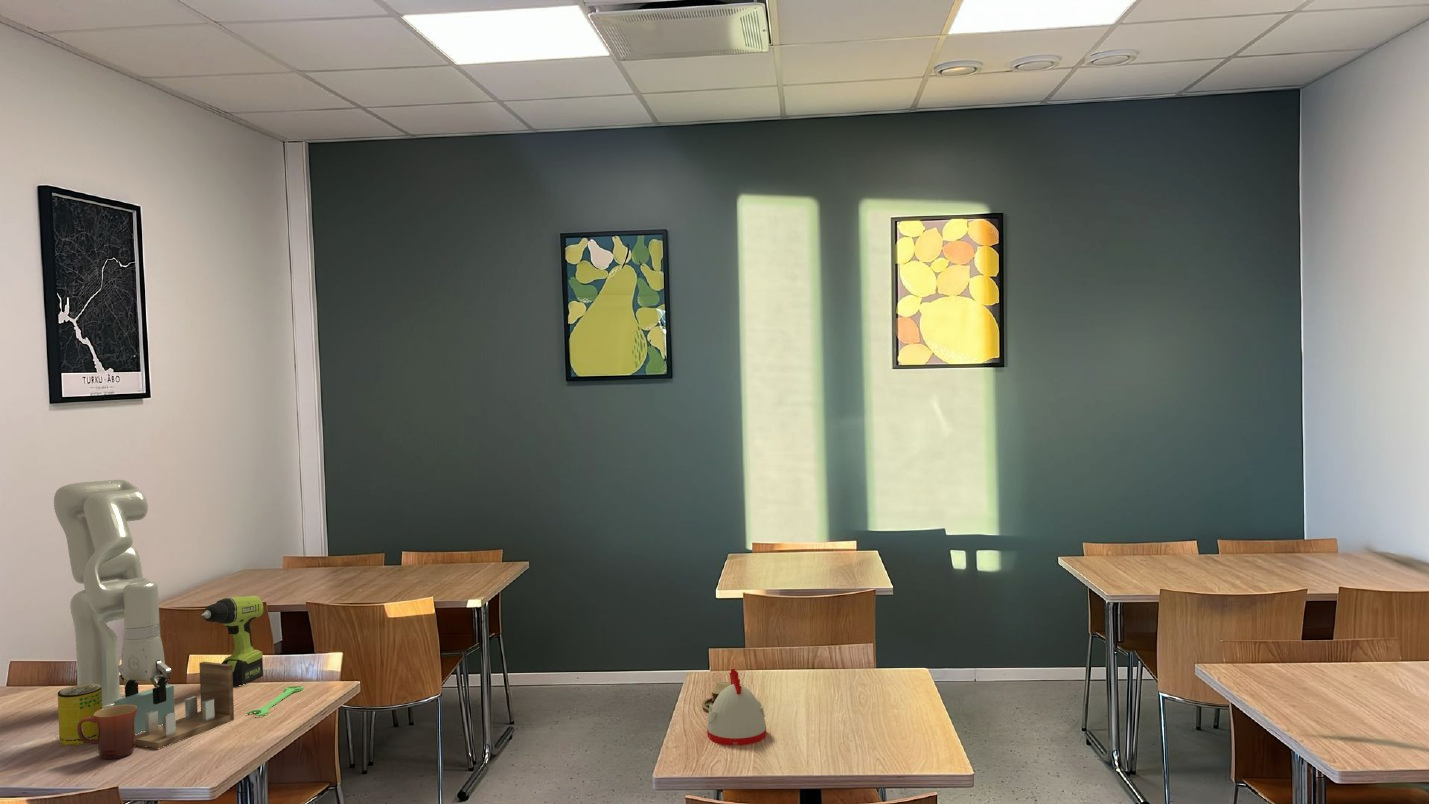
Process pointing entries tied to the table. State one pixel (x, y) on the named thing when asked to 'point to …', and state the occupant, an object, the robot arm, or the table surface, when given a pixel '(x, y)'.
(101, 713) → the mug
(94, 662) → the robot arm
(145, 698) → the pale teal rectangular block
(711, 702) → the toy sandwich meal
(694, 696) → the table surface
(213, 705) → the cabinet base
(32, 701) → the table surface
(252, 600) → the cordless drill
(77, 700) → the yellow food can
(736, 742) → the kitchen timer
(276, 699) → the wrench
